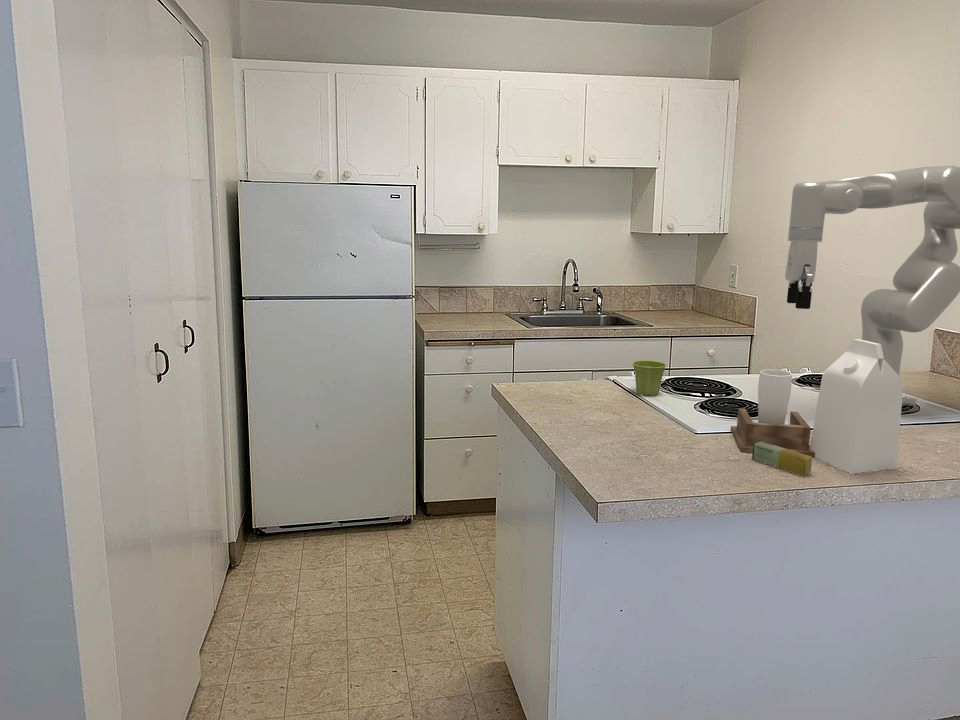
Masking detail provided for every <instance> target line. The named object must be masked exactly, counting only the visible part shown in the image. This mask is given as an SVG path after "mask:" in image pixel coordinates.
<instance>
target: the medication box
mask: <svg viewBox="0 0 960 720" xmlns="http://www.w3.org/2000/svg"><path fill="white" fill-rule="evenodd" d="M751 457H752V458H751V460H752V459H753V461H755V460H756V461H755V462H758V461H759V463H761V462H763V463H762V464H764V463H766V464H765V465H767V464H769V465H768V466H770V465H772V466H771V467H773V466H776V467H779V468H782V469H781V470H783V469H785V470H784V471H786V470H788V471H787V472H789V471H791V472H790V473H792V472H794V473H793V474H795V473H797V474H796V475H798V474H800V475H799V476H801V475H803V476H802V477H807V476H806V475H808V474H810V473H811V474H812V463H813V457H811V456H808V455H805V454H801V453H798V452H795V451H792V450H788V449H785V448H782V447H779V446H776V445H772V444H769V443H766V442H763V441H757V442H754V443H753V452H752V456H751ZM776 467H775V468H776ZM779 468H778V469H779ZM811 474H810V475H811ZM808 476H809V475H808Z"/></svg>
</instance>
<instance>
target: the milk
mask: <svg viewBox="0 0 960 720" xmlns="http://www.w3.org/2000/svg"><path fill="white" fill-rule="evenodd" d="M903 389H904V383H903V380H902V379H901V377H900V374H899V375H898V374H897V373H896V372H895V371H894V370H893V369H892V367H891V366H890V365H889V364H888V363H887V362H886V361H885V360H884V357H883V352H882V347H881V344H878V343H874V342H869V341H865V340H862V339H859V338H854V339H852V340H851V342H850V344H849V346H848V347H847V350H846V351H845V352H844V353H843V354H842V355H841V356H839V357H838V358H837V359H836V360H835V361H833V362H832V363H831V364H830V366H828V367H827V368H826V370H825V371H824V372H823V374H822V377H821V381H820V387H819V393H818V398H817V404H816V405H817V406H816V411H815V416H814V422H813V428H812V433H811V437H810V438H811V439H810V443H809V445H810V450H811V451H813V452H815V457H814V458H815V459H817V460H819V459H820V460H819V461H822V462H825V463H826V462H827V463H826V464H828V463H829V465H830V464H831V466H832V465H834V466H833V467H835V466H836V467H835V468H837V467H839V468H841V469H843V470H845V471H844V472H846V471H847V472H846V473H848V472H849V473H848V474H850V473H851V474H850V475H854V474H853V473H858V474H860V473H859V472H866V473H869V472H868V471H875V472H877V471H876V470H883V471H886V470H885V469H891V470H894V469H893V468H897V469H898V461H899V460H898V457H899V447H900V431H901V421H902V420H901V419H902V418H901V417H902V407H903V406H902V397H903V391H904V390H903ZM839 468H838V469H839ZM841 469H840V470H841ZM843 470H842V471H843Z"/></svg>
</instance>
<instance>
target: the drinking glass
mask: <svg viewBox="0 0 960 720" xmlns="http://www.w3.org/2000/svg"><path fill="white" fill-rule="evenodd" d="M792 380H793V374H792V372H789V371H786V370H783V369H782V370H781V369H773V368H772V369H769V368H768V369H767V368H766V369H761V370H760V371H759V377H758V383H757V384H758V387H757V389H758V390H757V403H758V404H757V413H758V415H757V418H758V419H757V423H772V424H786V423H785V422H786V417H787V413H788V407H789V402H790V397H791V391H792Z"/></svg>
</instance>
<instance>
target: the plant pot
mask: <svg viewBox="0 0 960 720" xmlns="http://www.w3.org/2000/svg"><path fill="white" fill-rule="evenodd" d="M631 364H632V366H633V369H634V375H635V376H634V377H635V390H636V394H638V395H641V396H652V397H655V396H658V395H659V394H660V388H661V384H662V380H663V376H664V372H665V369H666V368H667V363H664V362H662V361H658V360H646V359H645V360H643V359H642V360H634V361H632V363H631ZM654 395H655V396H654Z"/></svg>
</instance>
